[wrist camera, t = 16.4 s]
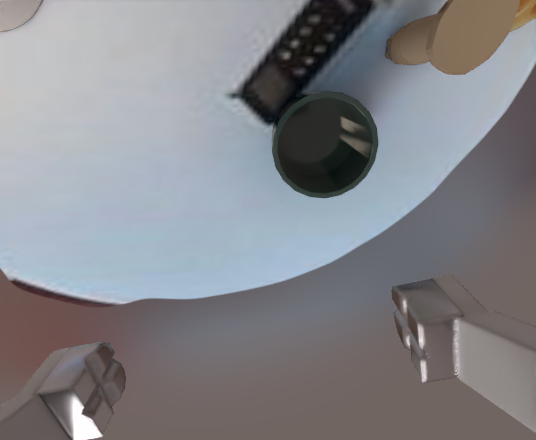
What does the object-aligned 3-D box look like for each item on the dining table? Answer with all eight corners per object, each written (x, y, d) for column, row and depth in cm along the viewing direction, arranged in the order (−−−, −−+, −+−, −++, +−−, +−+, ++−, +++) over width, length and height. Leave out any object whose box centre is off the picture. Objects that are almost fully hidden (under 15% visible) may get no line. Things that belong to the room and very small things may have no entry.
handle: (433, 33, 37) (533, 2, 23) (396, 86, 39) (467, 87, 25) (400, 6, 36) (483, -43, 22) (363, 62, 38) (418, 49, 24)
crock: (263, 102, 40) (262, 106, 32) (352, 81, 39) (372, 80, 31) (281, 186, 44) (284, 206, 36) (362, 168, 43) (382, 186, 35)
